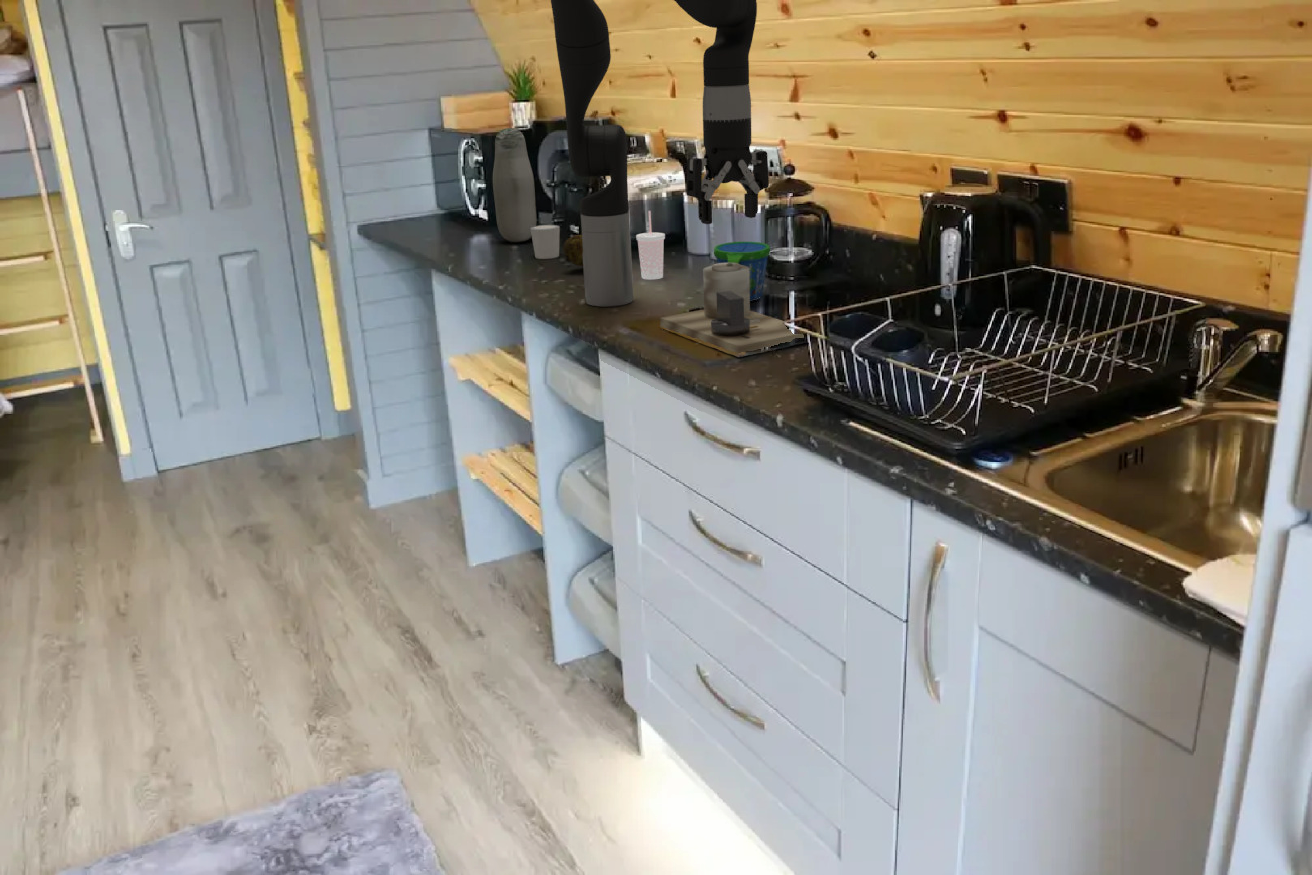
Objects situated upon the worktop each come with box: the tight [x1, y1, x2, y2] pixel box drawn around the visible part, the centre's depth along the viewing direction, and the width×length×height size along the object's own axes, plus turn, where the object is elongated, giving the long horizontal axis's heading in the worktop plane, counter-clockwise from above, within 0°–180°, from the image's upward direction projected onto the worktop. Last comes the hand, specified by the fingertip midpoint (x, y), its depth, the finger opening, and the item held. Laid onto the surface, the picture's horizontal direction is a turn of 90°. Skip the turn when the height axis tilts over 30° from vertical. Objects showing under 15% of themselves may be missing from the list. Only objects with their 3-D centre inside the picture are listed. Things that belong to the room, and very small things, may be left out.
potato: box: [563, 234, 583, 267], centre depth 246 cm, size 8×13×8 cm, turn 112°
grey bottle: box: [492, 127, 537, 243], centre depth 279 cm, size 10×10×28 cm
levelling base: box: [659, 262, 804, 353], centre depth 188 cm, size 24×15×11 cm, turn 31°
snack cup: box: [713, 241, 771, 300], centre depth 213 cm, size 16×10×10 cm
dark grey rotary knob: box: [711, 291, 760, 335], centre depth 183 cm, size 8×6×6 cm
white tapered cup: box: [530, 224, 560, 260], centre depth 262 cm, size 7×7×7 cm
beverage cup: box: [635, 210, 666, 280], centre depth 234 cm, size 6×6×14 cm
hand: (728, 220), depth 179 cm, fingers open, 8 cm apart
